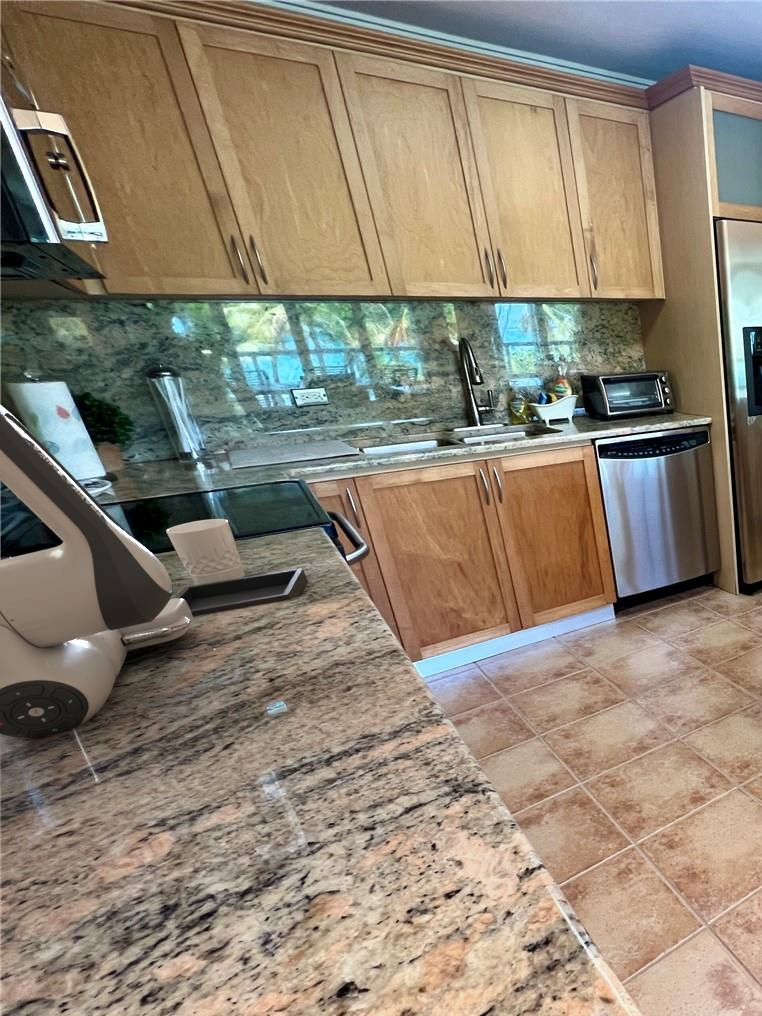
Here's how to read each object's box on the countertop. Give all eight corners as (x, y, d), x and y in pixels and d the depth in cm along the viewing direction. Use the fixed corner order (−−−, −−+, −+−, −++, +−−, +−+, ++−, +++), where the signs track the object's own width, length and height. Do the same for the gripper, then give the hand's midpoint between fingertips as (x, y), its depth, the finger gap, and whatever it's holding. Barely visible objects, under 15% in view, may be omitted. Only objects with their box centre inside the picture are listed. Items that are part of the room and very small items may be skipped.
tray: (161, 633, 92) (154, 617, 91) (191, 601, 103) (184, 586, 102) (293, 609, 98) (287, 594, 97) (308, 581, 109) (303, 567, 108)
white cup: (205, 576, 113) (182, 522, 109) (257, 570, 115) (236, 516, 111) (181, 592, 106) (155, 535, 102) (237, 585, 109) (213, 529, 105)
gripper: (177, 605, 79) (187, 575, 90) (-78, 658, 68) (-34, 617, 78) (198, 650, 82) (205, 616, 92) (-44, 708, 71) (-6, 662, 81)
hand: (94, 617), depth 85 cm, fingers open, 8 cm apart
